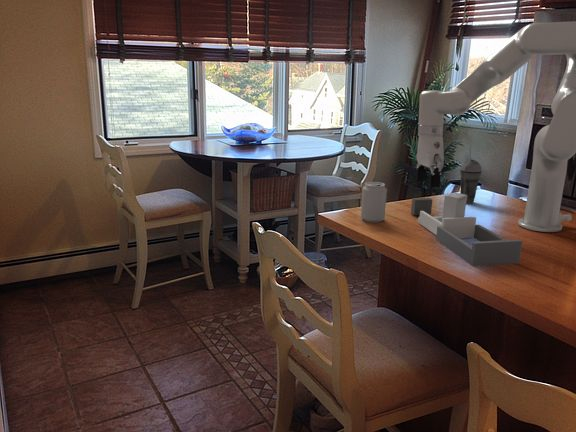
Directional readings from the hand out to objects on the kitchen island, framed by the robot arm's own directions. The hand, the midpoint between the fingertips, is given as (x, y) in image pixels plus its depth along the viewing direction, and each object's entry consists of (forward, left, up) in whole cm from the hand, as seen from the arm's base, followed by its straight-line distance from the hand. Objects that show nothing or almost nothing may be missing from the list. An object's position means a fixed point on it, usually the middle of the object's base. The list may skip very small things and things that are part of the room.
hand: (427, 183), depth 172 cm
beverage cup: (-23, -14, -11) cm, 29 cm away
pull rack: (+1, +11, -11) cm, 15 cm away
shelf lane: (+1, +33, -11) cm, 35 cm away
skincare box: (0, +19, -11) cm, 22 cm away
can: (+19, +2, -11) cm, 22 cm away
